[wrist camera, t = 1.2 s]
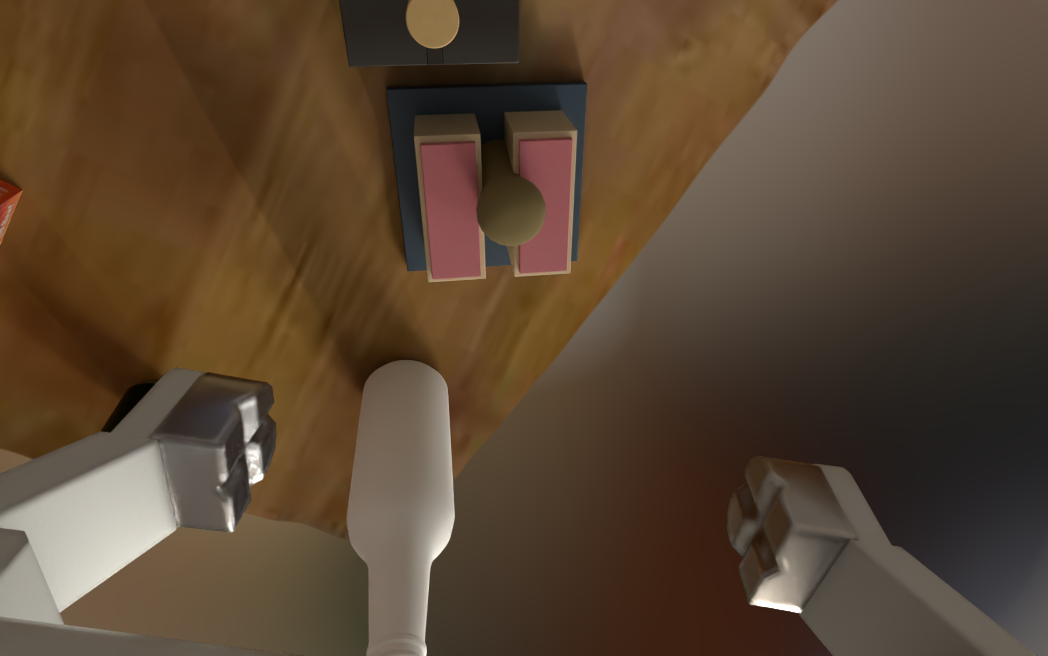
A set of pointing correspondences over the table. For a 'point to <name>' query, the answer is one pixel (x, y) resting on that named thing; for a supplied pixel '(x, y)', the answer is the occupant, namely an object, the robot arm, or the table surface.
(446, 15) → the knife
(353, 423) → the table surface
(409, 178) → the twin pink pillar stand
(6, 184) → the pasta box
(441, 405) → the alcohol
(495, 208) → the brown piece
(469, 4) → the knife holder
